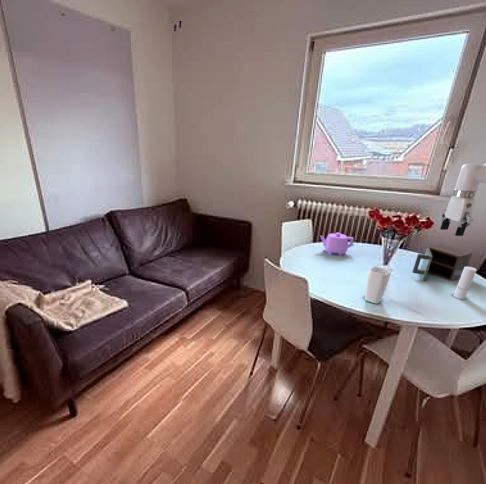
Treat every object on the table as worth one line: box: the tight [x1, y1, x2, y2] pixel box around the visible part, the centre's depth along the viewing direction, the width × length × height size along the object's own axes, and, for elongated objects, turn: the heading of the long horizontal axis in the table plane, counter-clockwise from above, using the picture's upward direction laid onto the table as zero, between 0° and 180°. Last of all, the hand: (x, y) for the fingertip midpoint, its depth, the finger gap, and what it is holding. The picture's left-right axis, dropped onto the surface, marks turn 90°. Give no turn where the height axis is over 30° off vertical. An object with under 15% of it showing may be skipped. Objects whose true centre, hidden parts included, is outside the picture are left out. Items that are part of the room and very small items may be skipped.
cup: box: [364, 266, 392, 305], centre depth 136 cm, size 7×7×15 cm
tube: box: [453, 266, 478, 300], centre depth 139 cm, size 4×4×15 cm
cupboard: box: [427, 244, 473, 281], centre depth 163 cm, size 11×15×14 cm
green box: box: [412, 247, 432, 282], centre depth 162 cm, size 6×15×14 cm, turn 153°
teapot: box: [319, 232, 354, 256], centre depth 193 cm, size 20×12×13 cm, turn 77°
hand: (451, 232), depth 141 cm, fingers open, 9 cm apart
